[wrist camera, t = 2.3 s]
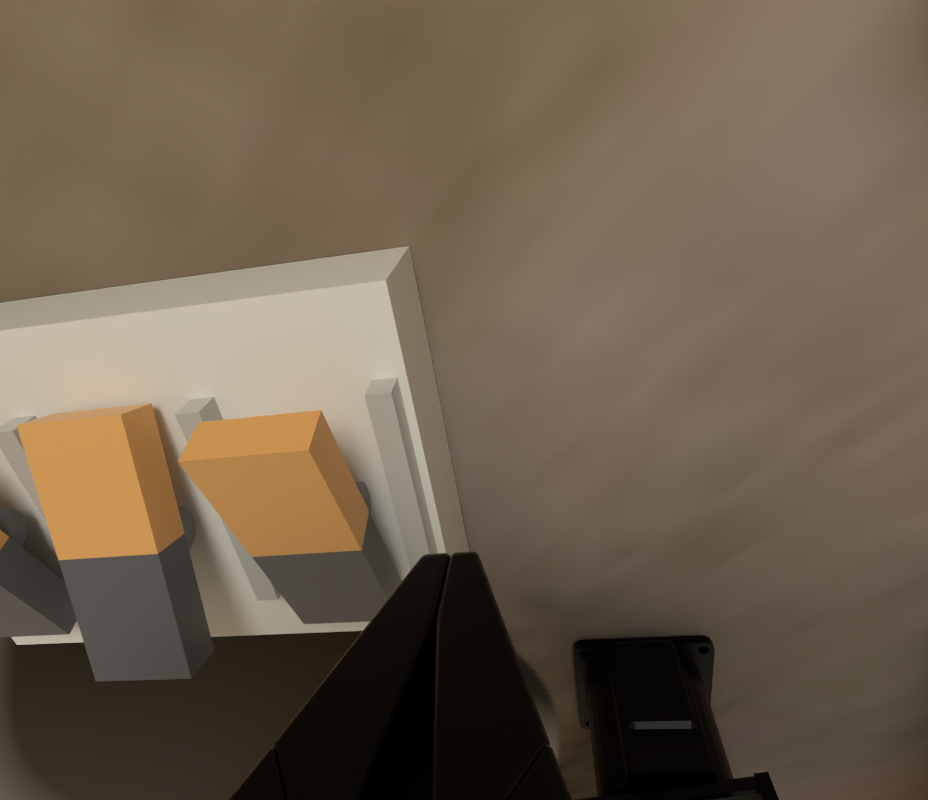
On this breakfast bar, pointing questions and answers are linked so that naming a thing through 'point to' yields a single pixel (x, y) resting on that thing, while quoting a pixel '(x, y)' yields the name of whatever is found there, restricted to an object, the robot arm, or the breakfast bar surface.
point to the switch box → (245, 401)
